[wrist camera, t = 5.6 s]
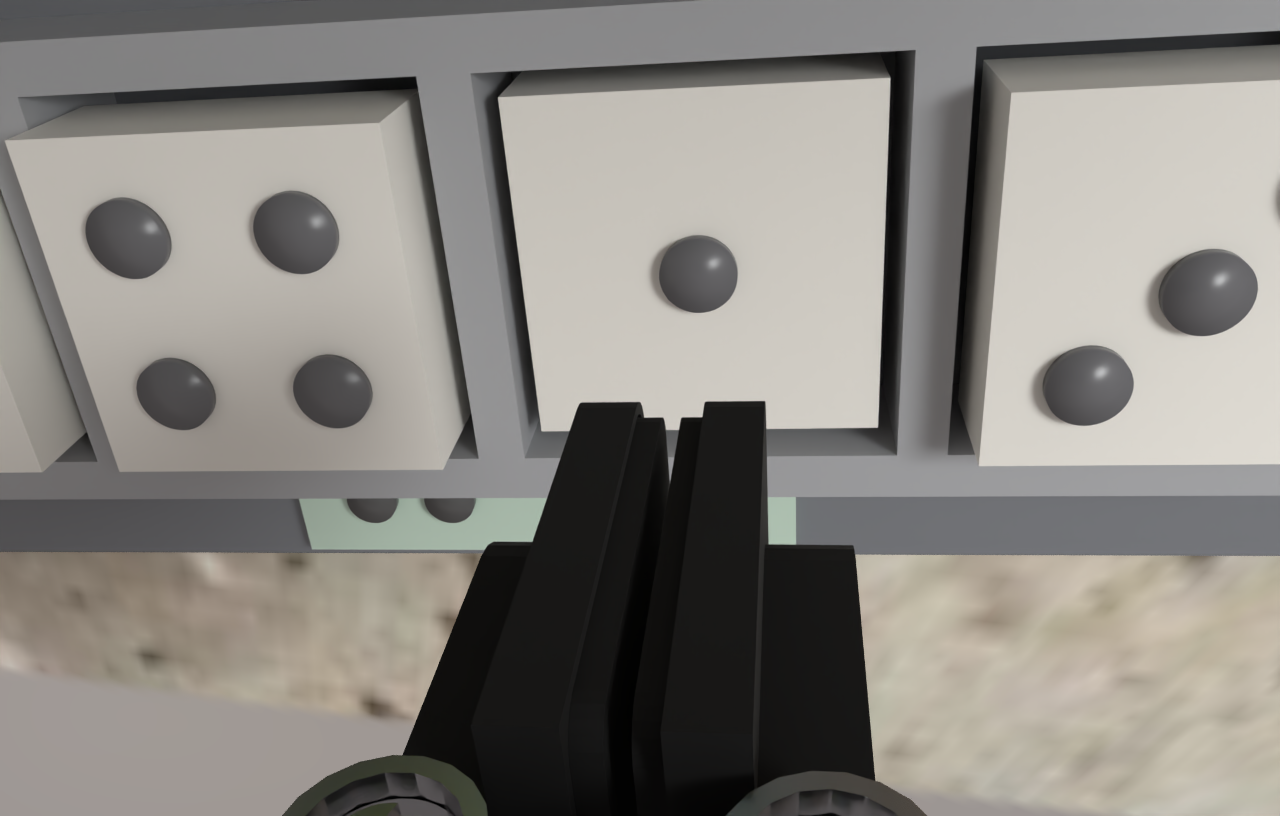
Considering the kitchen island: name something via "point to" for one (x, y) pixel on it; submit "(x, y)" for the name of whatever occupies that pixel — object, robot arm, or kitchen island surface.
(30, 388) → the key two dots
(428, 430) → the key four dots
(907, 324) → the keypad
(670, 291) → the key one dot
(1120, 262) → the key three dots
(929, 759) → the kitchen island surface
